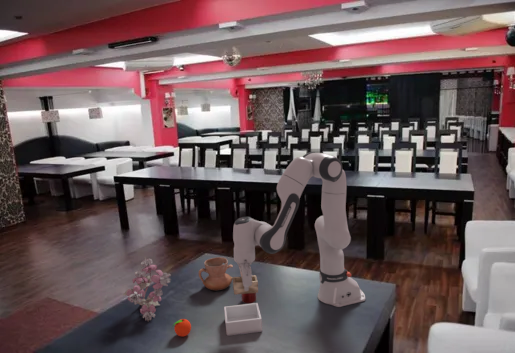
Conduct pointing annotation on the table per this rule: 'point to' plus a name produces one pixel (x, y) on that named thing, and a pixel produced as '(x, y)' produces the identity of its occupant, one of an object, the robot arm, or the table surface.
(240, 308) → the grey crate
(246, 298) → the soda can
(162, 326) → the table surface
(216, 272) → the ceramic jug
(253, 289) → the birch crate
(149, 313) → the flower
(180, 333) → the clementine
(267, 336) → the table surface
